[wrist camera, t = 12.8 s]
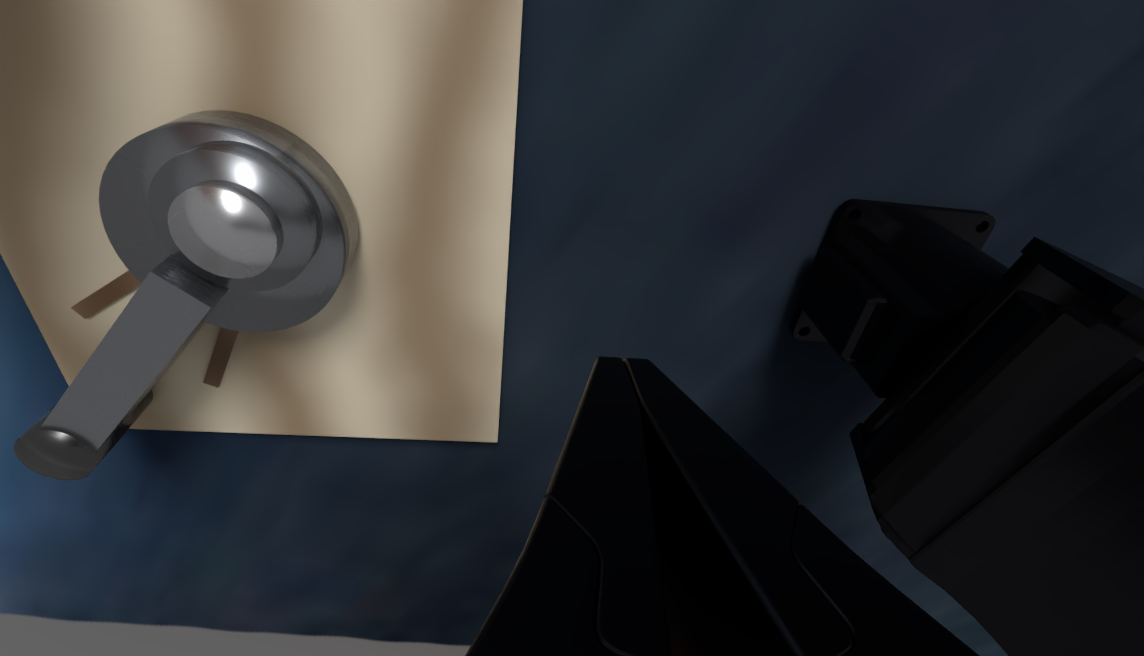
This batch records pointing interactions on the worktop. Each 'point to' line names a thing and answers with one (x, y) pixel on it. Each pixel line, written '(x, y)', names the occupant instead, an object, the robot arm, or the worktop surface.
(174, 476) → the worktop surface
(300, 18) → the level board
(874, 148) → the worktop surface
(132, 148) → the grey metal handled piece
